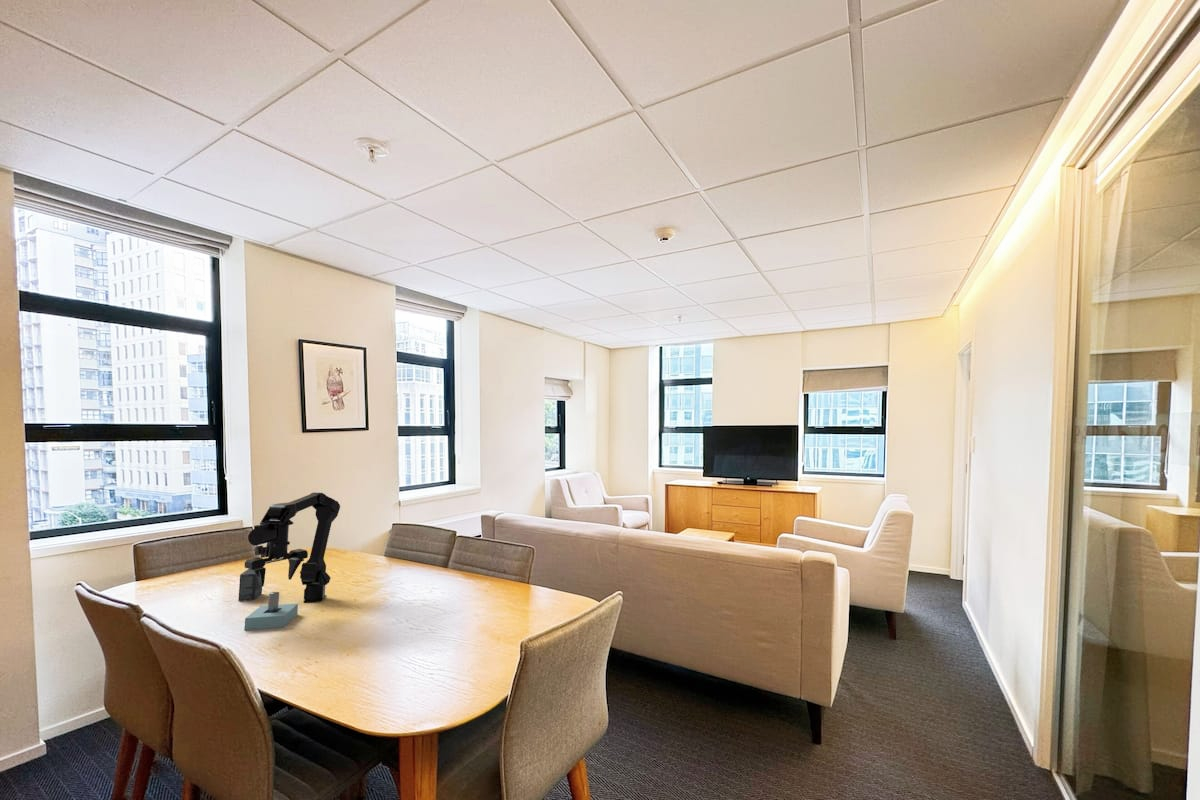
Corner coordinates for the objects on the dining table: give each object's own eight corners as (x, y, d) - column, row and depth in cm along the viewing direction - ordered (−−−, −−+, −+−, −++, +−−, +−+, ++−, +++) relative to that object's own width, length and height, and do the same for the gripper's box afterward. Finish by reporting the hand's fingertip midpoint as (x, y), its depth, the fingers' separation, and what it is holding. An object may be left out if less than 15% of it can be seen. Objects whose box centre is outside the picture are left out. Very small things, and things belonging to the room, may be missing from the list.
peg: (278, 620, 168) (280, 591, 169) (275, 623, 166) (277, 594, 166) (269, 620, 168) (271, 592, 168) (265, 624, 165) (267, 594, 166)
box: (246, 594, 194) (248, 568, 195) (262, 593, 195) (263, 567, 196) (237, 601, 186) (239, 574, 187) (254, 600, 188) (256, 573, 189)
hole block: (297, 614, 174) (298, 603, 174) (284, 627, 162) (285, 615, 163) (260, 617, 171) (261, 605, 171) (244, 630, 159) (245, 618, 160)
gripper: (293, 531, 183) (291, 572, 182) (238, 541, 167) (235, 586, 166) (309, 535, 178) (307, 577, 177) (253, 545, 162) (251, 591, 161)
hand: (276, 582), depth 170 cm, fingers open, 9 cm apart
